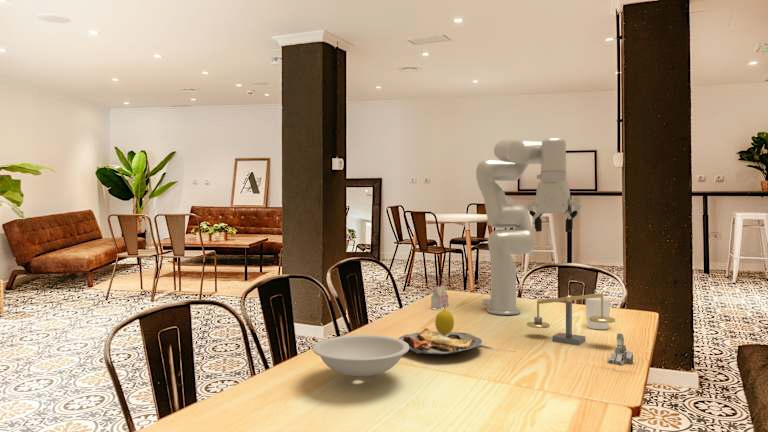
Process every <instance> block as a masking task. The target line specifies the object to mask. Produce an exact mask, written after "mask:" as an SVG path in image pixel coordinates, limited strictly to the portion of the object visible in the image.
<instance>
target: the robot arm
mask: <svg viewBox="0 0 768 432" xmlns="http://www.w3.org/2000/svg"><path fill="white" fill-rule="evenodd" d="M566 150H567V144H566V140H565V139H564V138H560V137H551V138H545V139H543V140H526V139H522V138H521V139H520V138H519V139H518V138H517V139H516V138H515V139H514V138H513V139H511V138H510V139H509V138H506V139H502V140H499V141H498V142H496V144H495V146H494V147H493V153H494V156H495V158H490V159H484V160H481V161H480V162H479V163H478V165H477V166H476V170H475V175H476V176H475V177H476V182H477V186H478V188H479V190H480V192H481V195H482V198H483V202H484V208H485V213H486V218H487V221H488V224H489V226H490V227H492V228H495V230H493V231H492V232H490V233H489V235H488V237H487V243H488V249H489V256H490V258H489V259H490V298H489V299H482V301H481V303H482V305H485V306H488V307H486V312H488V313H490V314H493V315H502V316H503V315H506V316H511V315H517V314H520V313H521V309H520V308H519V307H517V265H516V262H515V261H514V259H513V258H512V256H511V255H526V254H530V253H531V252H533V250H534V248H535V237H534V232H533V228H532V222H531V219H530V216H531V217H533V219H534V229H535V232H536V233H537V232H542V230H543V228H542V227H543V226H542V225H543V223H542V221H543V220H542V218H541V217H542V216H543V215H544V214H563V215H564V216H565V218H566V219H565V233H572V230H574V229H573V228H574V227H573V225H574V224H573V223H574V222H573V221H574V219H575V218H576V217H577V216H578V215H579V212H581V211H580V210H581V209H582V204H580V203H578V202H576V201H574V200H572V199H571V191H570V186H569V182H568V181H567V180H566V179H567V178H566V177H567V173H566V172H567V162H566V161H567V151H566ZM529 164H531V165H534V164H535V165H536V164H537V165H540V173H539V174H537V175H536V178H537V180H540V182H538V183H537V187H536V192H535V193H536V194H535V201H533V202H531V203H529V204H527V205H526V206H525V205H523V204H520V203H508V201H507V198H506V193H505V191H504V190H503V188H502V187H501V186H500V185H499V184H498V183H497V181H498V182H499V181H502V182H503V181H505V182H506V181H507V182H514V181H518V180H520V179H521V177H522V176H523V174H524V172H525V171H526V169H527V168H528V166H529ZM571 207H574V210H573V211H572V212H571V209H572V208H571ZM534 208H535V211H534ZM496 229H497V230H496Z"/></svg>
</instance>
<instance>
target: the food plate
mask: <svg viewBox="0 0 768 432" xmlns="http://www.w3.org/2000/svg"><path fill="white" fill-rule="evenodd" d="M398 339H400V340H403V341H405V342H406V343H408V344H409V347H410V348H409V350H410V351H412V352H414V353H416V354H426V355H429V354H431V355H452V354H456V353H457V354H458V353H460V352H463V351H467V350H468V351H469V350H470V349H475V348H477V347H479V346H481V345H483V339H482V338H480V337H478V336H476V335H472V334H470V333H468V332H467V333H466V332H455V331H451V332H450V333H448V334H446V335H445V336H444V335H442V333H440V332H439V331H438V330H436V331H431V329H429V328H424V329H423V330H422V331H420V332H414V333H410V334H405V335H402V336H400V337H399V338H398Z"/></svg>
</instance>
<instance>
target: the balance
mask: <svg viewBox="0 0 768 432" xmlns="http://www.w3.org/2000/svg"><path fill="white" fill-rule="evenodd" d="M599 297H601V316H592V317H589V320H590V321H593V322H599V323H609V324H612V323H615V322H616V318H614V317H612V316H611V317H610V316H609V317H605V316H603V297H604V293H602V292H601V293H591V294H584V295H574V296H573V295H570V294H569V295H566V296H565V297H558V298H557V297H556V298H547V299H540V300H536V316H534V317H533V321H528V322H526V326H527V327H529V328H533V329H547V328H550V326H551V325H550V323H548V322H544V321H543V317H541V316H540V305H541V304H543V305H544V304H549V303H551V304H553V303H558V302H559V303H561V302H565V332H558V333H555V334H554V335H552V337H551V339H552V342H556V343H563V344H570V345H575V346H581V345H582V344H583V343H585V342H586V335H578V334H573V301H578V300H585V299H589V298H599Z"/></svg>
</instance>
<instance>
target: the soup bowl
mask: <svg viewBox="0 0 768 432" xmlns="http://www.w3.org/2000/svg"><path fill="white" fill-rule="evenodd" d="M409 348H410V347H409V344H408V343H406V342H405V341H403V340H400V339H399V338H397V337H392V336H387V335H376V334H352V335H351V334H350V335H342V336H335V337H329V338H327V339H326V338H325V339H322V340H320V341H318V342H317V343H315V344H314V345H313V346H312V351H313V353H314V354H315V355H317V356H319V357H320V359H321V360H322V362H323V363H324V364H325V365H326V366H327V367H328V368H330V369H331V370H332V371H334V372H336V373H338V374H341V375H345V376H350V377H371V376H376V375H379V374H382V373H385V372H387V371H389V370H391V369H392V368H394V367H395V366H396V365H397V364H398V362H399V361H400V360H401V358H402V357H403V355H405V354H407V353H408V352H409V350H410V349H409Z"/></svg>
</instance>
